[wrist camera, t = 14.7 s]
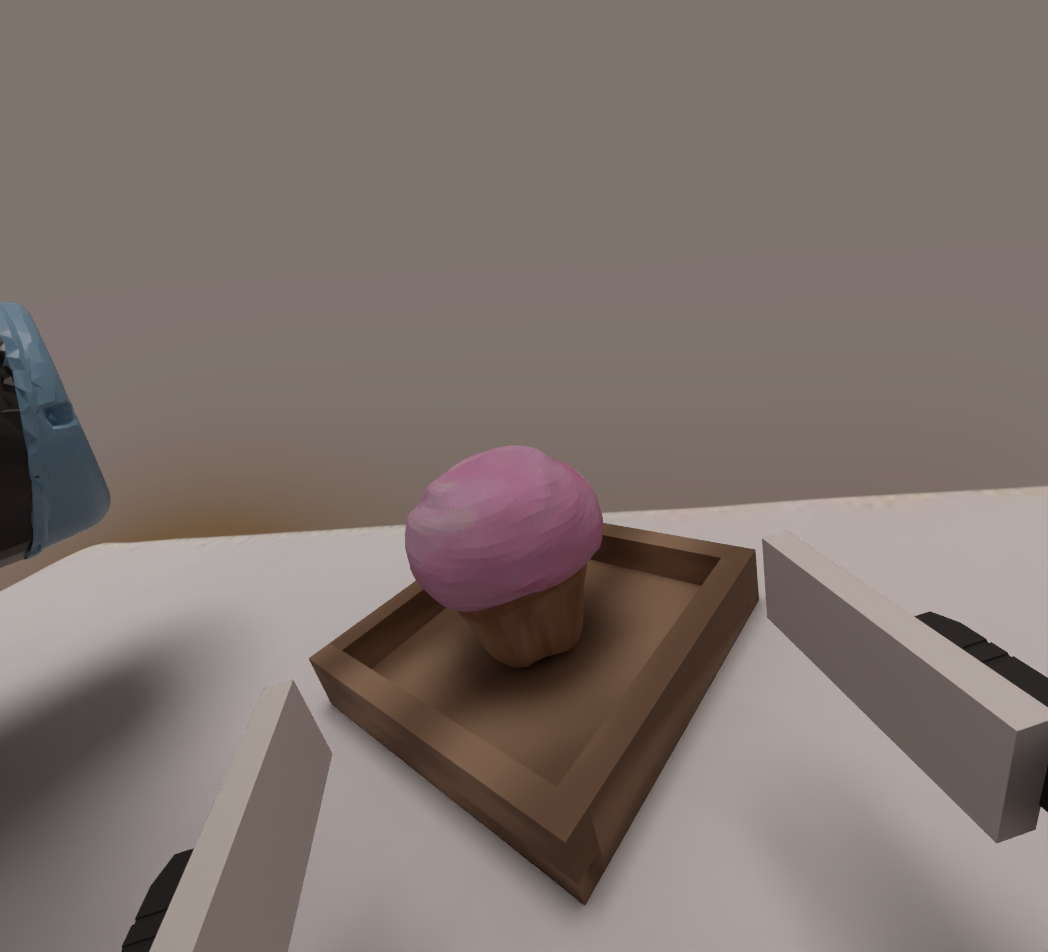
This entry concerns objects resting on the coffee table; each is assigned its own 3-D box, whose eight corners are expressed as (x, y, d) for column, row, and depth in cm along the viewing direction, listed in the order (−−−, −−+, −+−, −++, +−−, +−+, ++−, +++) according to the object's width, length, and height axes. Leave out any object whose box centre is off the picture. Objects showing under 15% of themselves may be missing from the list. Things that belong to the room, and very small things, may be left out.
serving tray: (331, 703, 26) (308, 658, 25) (526, 544, 36) (516, 507, 35) (584, 904, 15) (565, 842, 14) (758, 599, 26) (755, 549, 25)
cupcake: (583, 568, 30) (547, 409, 26) (657, 662, 22) (621, 453, 19) (439, 622, 29) (380, 461, 25) (463, 742, 21) (382, 533, 17)
